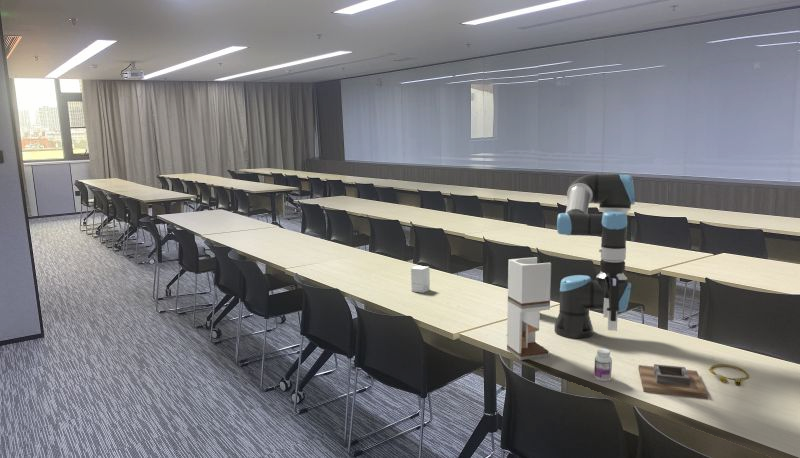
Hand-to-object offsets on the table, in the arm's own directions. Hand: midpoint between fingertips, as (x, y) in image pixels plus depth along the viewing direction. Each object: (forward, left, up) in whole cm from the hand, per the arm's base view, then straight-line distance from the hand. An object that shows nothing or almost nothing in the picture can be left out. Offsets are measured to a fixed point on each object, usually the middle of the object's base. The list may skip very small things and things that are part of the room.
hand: (609, 323), depth 187 cm
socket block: (-2, +20, -19) cm, 27 cm away
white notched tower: (-16, -27, -19) cm, 37 cm away
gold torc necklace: (-14, +39, -20) cm, 45 cm away
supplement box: (-90, -89, -19) cm, 128 cm away
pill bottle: (0, -1, -19) cm, 19 cm away
